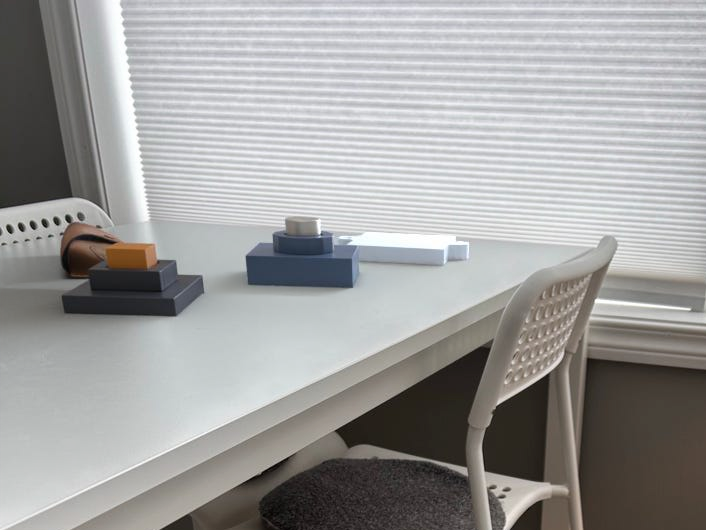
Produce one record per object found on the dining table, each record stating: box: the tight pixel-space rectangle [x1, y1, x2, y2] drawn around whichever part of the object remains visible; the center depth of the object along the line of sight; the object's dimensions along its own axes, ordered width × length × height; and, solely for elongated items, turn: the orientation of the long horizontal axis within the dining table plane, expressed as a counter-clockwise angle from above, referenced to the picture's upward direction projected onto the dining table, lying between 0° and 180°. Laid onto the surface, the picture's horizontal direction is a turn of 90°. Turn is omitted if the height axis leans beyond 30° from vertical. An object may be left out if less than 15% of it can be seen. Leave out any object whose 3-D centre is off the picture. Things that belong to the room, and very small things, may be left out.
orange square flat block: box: [105, 242, 158, 269], centre depth 89 cm, size 4×4×2 cm
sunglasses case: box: [59, 221, 125, 279], centre depth 115 cm, size 18×7×7 cm
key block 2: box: [244, 229, 360, 289], centre depth 112 cm, size 12×10×5 cm
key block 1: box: [61, 259, 205, 317], centre depth 91 cm, size 10×12×5 cm
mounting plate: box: [337, 231, 470, 266], centre depth 130 cm, size 18×13×2 cm
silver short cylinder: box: [284, 216, 321, 237], centre depth 110 cm, size 4×4×2 cm
